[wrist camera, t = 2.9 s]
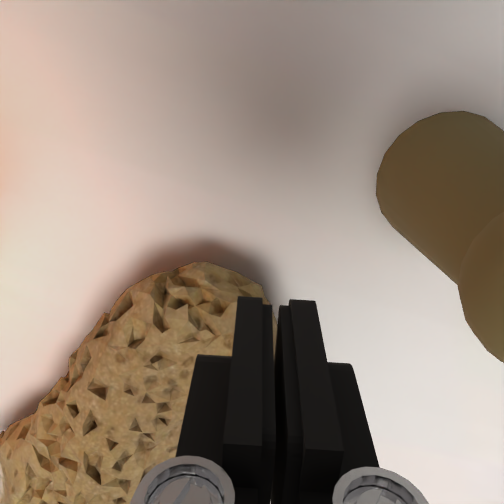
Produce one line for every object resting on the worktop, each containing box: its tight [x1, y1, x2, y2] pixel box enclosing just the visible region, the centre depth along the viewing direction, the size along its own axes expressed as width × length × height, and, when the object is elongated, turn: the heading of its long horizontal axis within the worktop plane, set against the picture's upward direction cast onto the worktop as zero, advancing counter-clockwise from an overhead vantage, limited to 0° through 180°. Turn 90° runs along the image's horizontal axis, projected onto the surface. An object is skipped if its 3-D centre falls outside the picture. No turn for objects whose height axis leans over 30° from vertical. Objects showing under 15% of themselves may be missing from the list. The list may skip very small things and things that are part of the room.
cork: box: [376, 111, 504, 363], centre depth 16 cm, size 6×6×11 cm
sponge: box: [0, 262, 277, 504], centre depth 24 cm, size 13×8×20 cm
